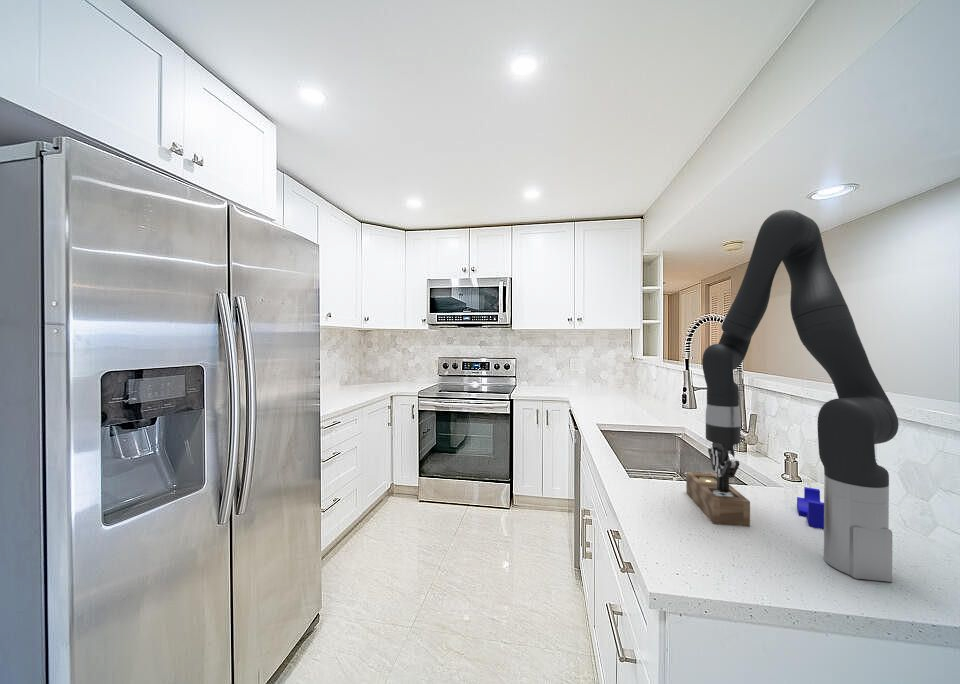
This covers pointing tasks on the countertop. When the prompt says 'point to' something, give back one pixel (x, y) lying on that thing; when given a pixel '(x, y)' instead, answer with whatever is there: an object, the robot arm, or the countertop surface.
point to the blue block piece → (811, 507)
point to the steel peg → (722, 493)
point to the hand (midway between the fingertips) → (722, 491)
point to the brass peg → (707, 479)
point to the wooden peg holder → (718, 501)
